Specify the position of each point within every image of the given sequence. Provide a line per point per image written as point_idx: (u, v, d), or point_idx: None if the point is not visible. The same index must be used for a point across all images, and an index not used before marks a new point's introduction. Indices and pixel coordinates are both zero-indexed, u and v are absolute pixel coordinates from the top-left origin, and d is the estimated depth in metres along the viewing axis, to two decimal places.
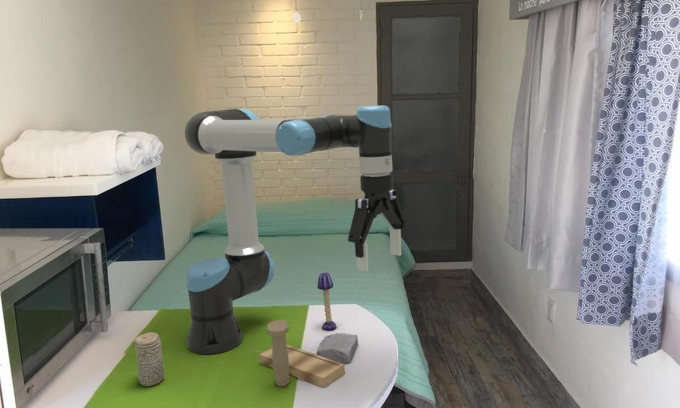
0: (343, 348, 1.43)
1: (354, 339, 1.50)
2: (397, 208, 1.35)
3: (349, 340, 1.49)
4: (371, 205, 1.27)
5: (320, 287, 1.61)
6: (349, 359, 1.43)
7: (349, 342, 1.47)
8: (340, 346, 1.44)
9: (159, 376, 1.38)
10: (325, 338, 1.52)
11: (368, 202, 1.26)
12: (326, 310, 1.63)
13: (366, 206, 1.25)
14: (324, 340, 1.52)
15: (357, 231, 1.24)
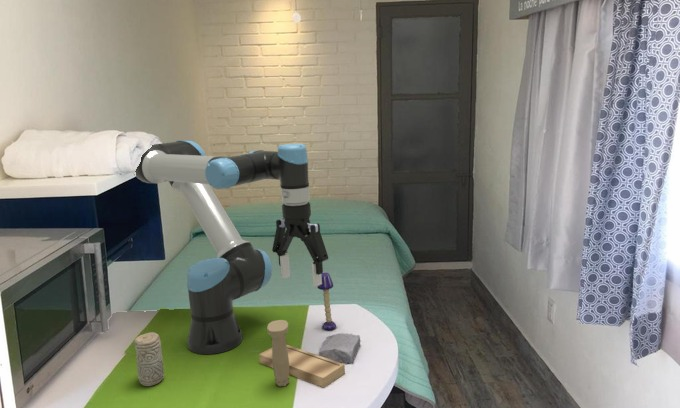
0: (346, 348, 1.43)
1: (356, 339, 1.50)
2: None
3: (351, 340, 1.49)
4: (285, 226, 1.51)
5: (320, 287, 1.61)
6: (352, 359, 1.43)
7: (351, 342, 1.47)
8: (342, 346, 1.44)
9: (159, 376, 1.38)
10: (327, 338, 1.52)
11: None
12: (326, 310, 1.63)
13: (279, 225, 1.52)
14: (326, 340, 1.51)
15: None
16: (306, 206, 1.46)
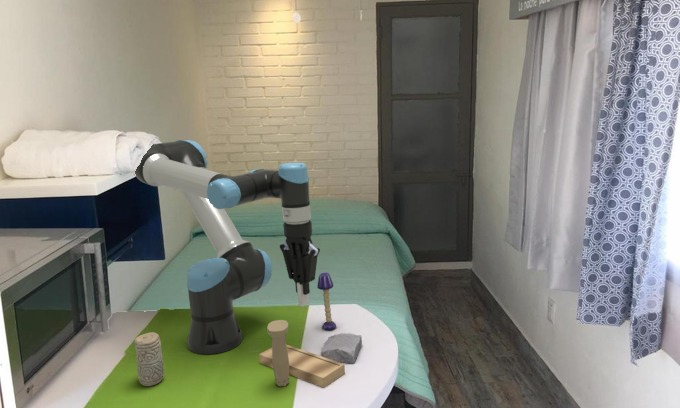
0: (348, 348, 1.43)
1: (358, 339, 1.50)
2: None
3: (353, 340, 1.49)
4: (287, 244, 1.52)
5: (320, 287, 1.61)
6: (354, 359, 1.43)
7: (353, 342, 1.47)
8: (344, 346, 1.44)
9: (159, 376, 1.38)
10: (329, 338, 1.52)
11: (287, 243, 1.52)
12: (326, 310, 1.63)
13: (283, 249, 1.53)
14: (328, 340, 1.51)
15: None
16: (307, 224, 1.47)
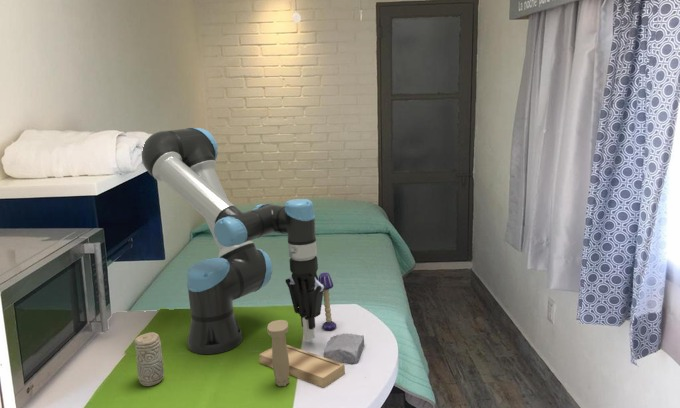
0: (351, 348, 1.43)
1: (361, 339, 1.50)
2: None
3: (356, 340, 1.49)
4: (293, 279, 1.53)
5: None
6: (356, 359, 1.43)
7: (356, 342, 1.47)
8: (347, 347, 1.43)
9: (159, 376, 1.38)
10: (331, 338, 1.52)
11: (293, 278, 1.54)
12: (326, 310, 1.63)
13: (289, 283, 1.54)
14: (330, 340, 1.51)
15: None
16: (313, 261, 1.48)
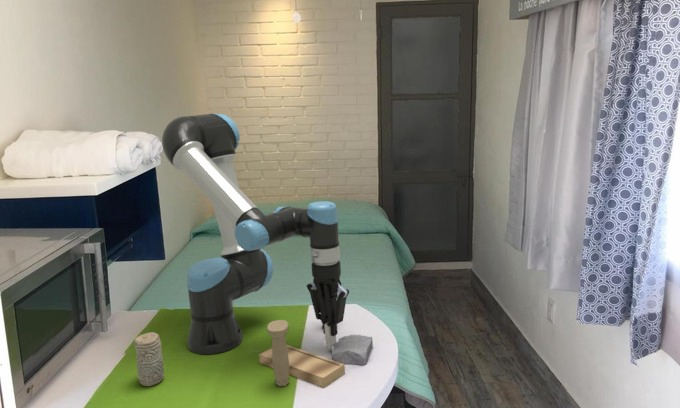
0: (359, 350, 1.42)
1: (369, 341, 1.49)
2: None
3: (364, 342, 1.48)
4: (314, 284, 1.48)
5: None
6: (365, 361, 1.42)
7: (364, 344, 1.46)
8: (356, 348, 1.43)
9: (159, 376, 1.38)
10: (340, 340, 1.51)
11: (314, 283, 1.49)
12: None
13: (310, 289, 1.49)
14: (339, 342, 1.50)
15: None
16: (336, 266, 1.43)
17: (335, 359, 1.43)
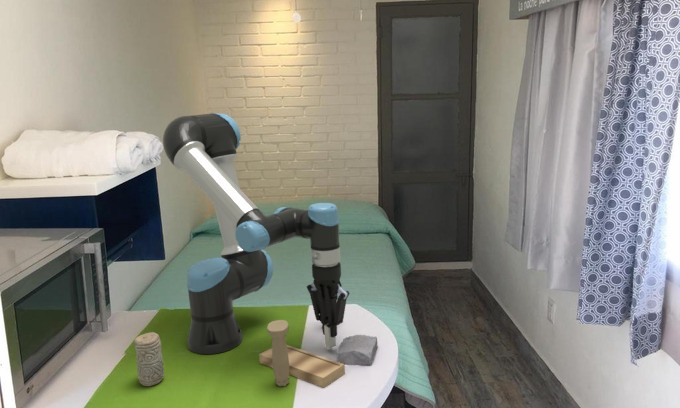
0: (365, 350, 1.42)
1: (374, 341, 1.48)
2: None
3: (369, 342, 1.47)
4: (314, 285, 1.48)
5: None
6: (370, 361, 1.41)
7: (370, 344, 1.46)
8: (361, 348, 1.42)
9: (159, 376, 1.38)
10: (344, 340, 1.51)
11: (314, 284, 1.49)
12: None
13: (311, 290, 1.49)
14: (344, 342, 1.50)
15: None
16: (337, 267, 1.43)
17: (340, 359, 1.43)
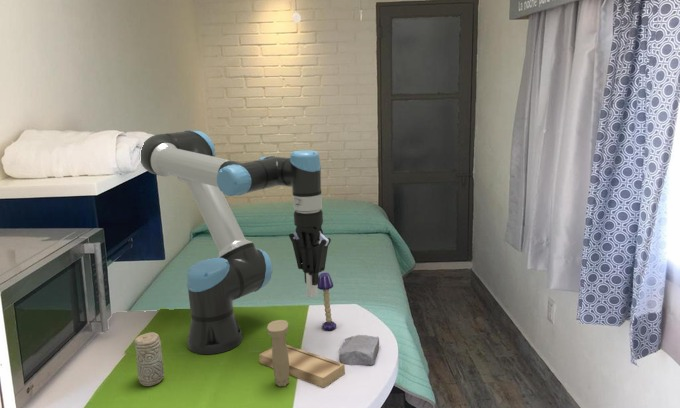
0: (367, 350, 1.42)
1: (376, 341, 1.48)
2: None
3: (371, 342, 1.47)
4: (297, 233, 1.49)
5: (320, 287, 1.61)
6: (372, 361, 1.41)
7: (371, 344, 1.46)
8: (363, 348, 1.42)
9: (159, 376, 1.38)
10: (346, 340, 1.51)
11: (296, 233, 1.49)
12: (326, 310, 1.63)
13: (293, 238, 1.50)
14: (345, 342, 1.50)
15: None
16: (318, 214, 1.44)
17: (342, 359, 1.43)
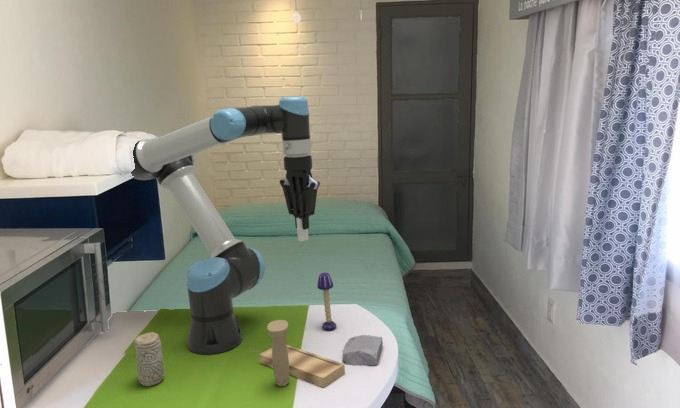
0: (370, 350, 1.41)
1: (379, 341, 1.48)
2: None
3: (375, 342, 1.47)
4: (287, 179, 1.53)
5: (320, 287, 1.61)
6: (376, 361, 1.41)
7: (375, 344, 1.46)
8: (367, 348, 1.42)
9: (159, 376, 1.38)
10: (349, 340, 1.50)
11: (287, 179, 1.53)
12: (326, 310, 1.63)
13: (283, 184, 1.54)
14: (349, 342, 1.49)
15: None
16: (307, 158, 1.48)
17: (346, 359, 1.43)
